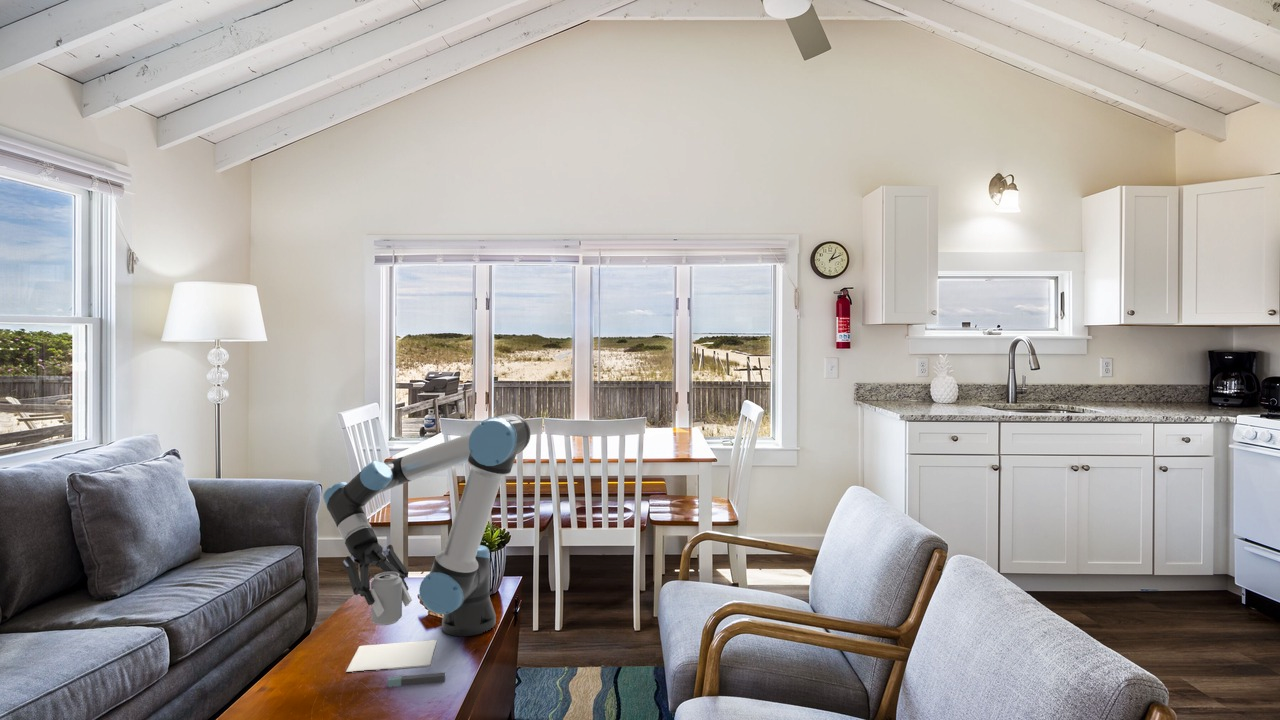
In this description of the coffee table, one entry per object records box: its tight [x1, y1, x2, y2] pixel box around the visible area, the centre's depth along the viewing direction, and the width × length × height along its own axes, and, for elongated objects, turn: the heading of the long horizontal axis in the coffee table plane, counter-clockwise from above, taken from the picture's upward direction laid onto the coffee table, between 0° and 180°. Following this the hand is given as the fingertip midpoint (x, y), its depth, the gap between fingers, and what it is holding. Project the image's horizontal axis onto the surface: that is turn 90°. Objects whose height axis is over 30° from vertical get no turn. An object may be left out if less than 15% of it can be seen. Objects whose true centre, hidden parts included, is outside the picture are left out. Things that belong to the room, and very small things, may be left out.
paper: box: [345, 639, 438, 673], centre depth 172 cm, size 20×14×1 cm
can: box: [370, 571, 403, 626], centre depth 171 cm, size 8×8×12 cm
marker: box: [387, 672, 446, 688], centre depth 159 cm, size 13×2×2 cm, turn 100°
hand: (394, 608), depth 169 cm, fingers closed on can, 7 cm apart
